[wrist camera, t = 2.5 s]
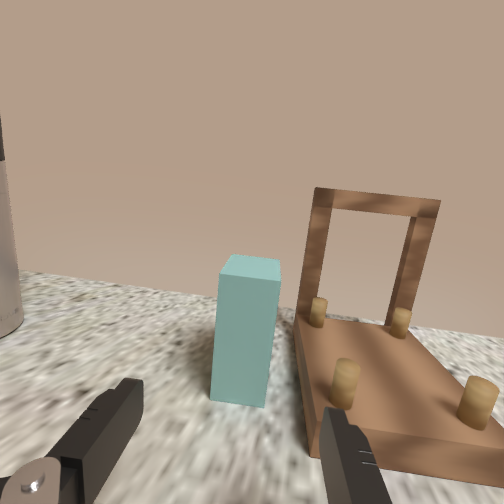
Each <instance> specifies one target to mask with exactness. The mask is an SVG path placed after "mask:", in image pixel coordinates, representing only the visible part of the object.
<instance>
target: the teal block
mask: <svg viewBox="0 0 504 504" xmlns="http://www.w3.org/2000/svg"><path fill="white" fill-rule="evenodd" d="M280 287H281V274H280V261H279V260H277V259H269V258H260V257H252V256H244V255H235V254H232V255H231V257H230V258H229V260H228V261H227V263H226V264H225V266H224V267H223V269H222V270H221V272H220V273H219V285H218V298H217V311H216V324H215V338H214V351H213V364H212V377H211V391H210V400H214V401H221V402H227V403H234V404H241V405H247V406H254V407H260V408H264V405H265V397H266V390H267V382H268V375H269V368H270V360H271V353H272V346H273V338H274V331H275V324H276V316H277V309H278V301H279V294H280Z"/></svg>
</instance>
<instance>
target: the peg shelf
mask: <svg viewBox="0 0 504 504" xmlns="http://www.w3.org/2000/svg"><path fill="white" fill-rule="evenodd" d="M440 203H441V200H435V199H425V198H415V197H405V196H395V195H386V194H376V193H366V192H357V191H347V190H337V189H327V188H318V187H316V188H315V190H314V197H313V203H312V210H311V216H310V222H309V229H308V236H307V242H306V248H305V255H304V262H303V268H302V274H301V281H300V287H299V294H298V300H297V307H296V313H295V320H294V326H293V337H294V344H295V351H296V359H297V366H298V373H299V380H300V388H301V395H302V402H303V410H304V417H305V424H306V431H307V439H308V446H309V453H310V457H314V458H320V453H319V434H320V428H321V423H322V418H323V412H324V408H325V407H333V408H340V409H344V411H345V413H346V416H347V419H348V422H349V424H352V425H357V426H358V427H359V428H360V429H361V431H362V432H363V433H364V435H365V436H366V437H367V439H368V442H369V444H370V447H371V450H372V454H373V455H374V457H375V460H376V463H377V466H378V468H382V469H389V470H395V471H401V472H407V473H414V474H420V475H426V476H432V477H439V478H445V479H451V480H457V481H464V482H470V483H476V484H482V485H489V486H495V487H501V488H504V428H503V427H502V426H501V425H500V424H499V423H498V422H497V421H496V420H495V419H494V418H493V417H492V416H491V412H492V410H493V407H494V405H495V402H496V399H497V397H498V394H499V392H500V390H499V388H498V387H497V386H496V385H494V384H493V383H492V382H490V381H488V380H486V379H484V378H481V377H478V376H469V378H468V381H467V383H466V386H465V388H464V387H463V386H462V385H461V384H460V383H459V382H458V381H457V380H456V379H455V378H454V377H453V376H452V375H451V374H450V373H449V372H448V371H447V369H446V368H445V367H444V366H443V365H442V364H441V363H440V362H439V361H438V360H437V359H436V358H435V357H434V356H433V355H432V354H431V353H430V352H429V351H428V350H427V349H426V348H425V347H424V346H423V345H422V344H421V343H420V342H419V341H418V340H417V339H416V338H415V337H414V336H413V334H412V333H411V332H410V331H409V330H408V327H409V323H410V319H411V316H412V312H411V311H412V307H413V303H414V299H415V296H416V292H417V288H418V285H419V281H420V277H421V274H422V270H423V266H424V262H425V258H426V255H427V251H428V248H429V243H430V240H431V236H432V233H433V229H434V225H435V221H436V218H437V214H438V210H439V207H440ZM332 208H337V209H347V210H355V211H365V212H374V213H383V214H393V215H402V216H411V219H410V223H409V227H408V231H407V235H406V239H405V243H404V247H403V251H402V255H401V259H400V264H399V268H398V271H397V276H396V280H395V284H394V288H393V292H392V296H391V300H390V304H389V308H388V312H387V316H386V320H385V324H384V325H376V324H368V323H361V322H353V321H345V320H338V319H330V318H325V314H326V309H327V304H328V301H327V300H326V299H324V298H320V297H317V292H318V287H319V281H320V275H321V270H322V264H323V258H324V251H325V246H326V240H327V235H328V229H329V223H330V217H331V211H332Z"/></svg>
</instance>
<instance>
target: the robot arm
mask: <svg viewBox="0 0 504 504" xmlns="http://www.w3.org/2000/svg"><path fill="white" fill-rule="evenodd" d="M2 160H5V156H4V149H3V139H2V128H1V119H0V338H1V337H3V336H5V335H7V334H9V333H10V332H12V331H13V330H15V329H16V328H17V327H18V326H20V324H21V323H22V322H23V308H22V300H21V291H20V281H19V273H18V265H17V256H16V248H15V240H14V231H13V223H12V215H11V207H10V198H9V191H8V183H7V174H6V166H5V162H4V161H2ZM142 414H143V380H139V379H132V378H124V379H123V380H122V381H121V382H120V383H119V385H118V386H117V387H116V388H115V390H114V389H108V390H107V391H105V392H104V393H102V394H101V395H99V396H98V397H96V399H95V400H94V401H93V402H92V403H91V404H90V405H89V407H88V408H87V410H85V411H84V412H83V413H82V415H81V416H80V417H79V419H77V420H76V421H75V423H74V424H73V425H72V426H71V427H70V428H69V429H68V431H67V432H66V433H65V434H64V435H63V436H62V438H61V439H60V440H59V441H58V442H57V443H56V444H55V446H54V447H53V448H52V449H51V450H50V451H49V452H48V454H47V455H46V456H45V457H43V458H39V459H36V460H33V461H31V462H29V463H27V464H26V465H24V466H23V467H21V468H20V469H19V470H17V471H16V472H15V473H14V474H13V475H12V476H9V477H4V478H0V504H93V502H94V500H95V499H96V497H97V495H98V494H99V492H100V490H101V488H102V487H103V485H104V483H105V482H106V480H107V478H108V476H109V475H110V473H111V471H112V470H113V468H114V466H115V464H116V463H117V461H118V459H119V458H120V456H121V454H122V452H123V451H124V449H125V447H126V446H127V444H128V442H129V440H130V439H131V437H132V435H133V434H134V432H135V430H136V428H137V427H138V425H139V423H140V421H141V418H142ZM319 453H320V459H321V464H322V470H323V475H324V481H325V486H326V492H327V498H328V503H329V504H392V501H391V499H390V496H389V494H388V491H387V488H386V486H385V483H384V481H383V478H382V475H381V473H380V470H379V468H378V466H377V463H376V460H375V457H374V455H373V454H372V450H371V447H370V444H369V442H368V439H367V437H366V436H365V435H364V433H363V432H362V431H361V429H360V428H359V427H358V426H357V425H352V424H349V422H348V419H347V416H346V413H345V411H344V409H340V408H333V407H325V408H324V412H323V418H322V423H321V428H320V434H319Z"/></svg>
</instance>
